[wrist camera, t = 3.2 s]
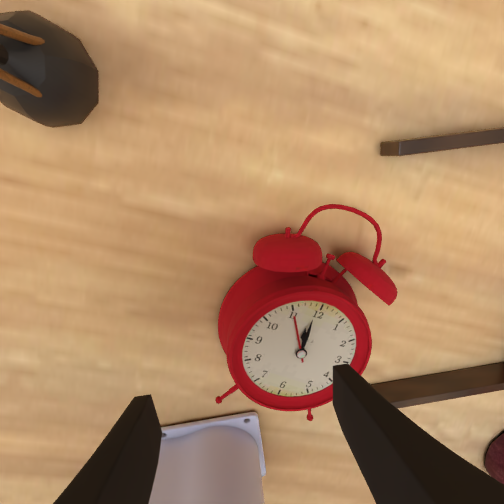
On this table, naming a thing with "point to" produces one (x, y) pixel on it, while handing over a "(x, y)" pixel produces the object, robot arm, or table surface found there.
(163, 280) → the table surface
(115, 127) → the table surface
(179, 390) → the table surface
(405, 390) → the walnut frame
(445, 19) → the table surface
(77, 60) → the wooden tabletop sculpture
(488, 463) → the vegetable
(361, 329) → the alarm clock
